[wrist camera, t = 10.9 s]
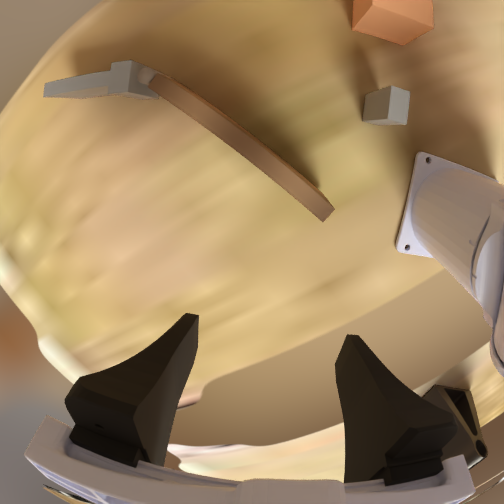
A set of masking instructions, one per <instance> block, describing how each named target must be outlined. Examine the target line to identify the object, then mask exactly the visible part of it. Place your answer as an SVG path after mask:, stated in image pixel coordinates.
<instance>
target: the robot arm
mask: <svg viewBox="0 0 504 504" xmlns="http://www.w3.org/2000/svg"><path fill="white" fill-rule="evenodd" d="M427 157H428V158H429V162H428V163H426V158H427ZM406 245H408V248H407V249H405V246H406ZM395 247H396V249H397V251H398V252H401V253H407V254H413V255H419V256H425V257H431V258H435V259H436V260H437V261H438V262H439V263H440V264H441V265H442V266H443V267H444V268H445V269H446V270H447V271H448V272H449V273H451V275H452V276H453V277H454V278H456V280H458V282H459V283H460V284H461V285H462V286H463V287H464V288H465V289H466V290H467V291H468V292H469V293H470V294H471V295H472V296H473V297H474V299H475V300H476V301H477V302H479V304H480V305H481V306H482V308H483V311H484V315H483V318H484V319H485V320H486V322H487V323H488V324H489V325H490V326H491V328H492V329H493V331H492V335H491V339H490V355H491V358H492V361H493V363H494V366H495V367H496V369H497V370H498V372H499V373H500V374H501V375H502V376H503V377H504V185H503V184H500V183H499V182H498V181H497V180H495V179H493V178H491V177H489V176H486V175H484V174H482V173H479V172H477V171H474V170H472V169H469V168H467V167H464V166H462V165H459V164H457V163H454V162H451V161H448V160H446V159H443V158H440V157H437V156H434V155H431V154H428V153H425V152H418V153H417V154H416V158H415V163H414V169H413V174H412V179H411V184H410V188H409V193H408V197H407V202H406V206H405V210H404V214H403V218H402V222H401V226H400V230H399V233H398V237H397V241H396V244H395ZM198 324H199V315H195V314H189V313H186V314H184V315H183V316H182V317H181V318H180V319H179V320H178V321H177V322H176V323H175V324H174V325H173V326H172V327H171V328H170V329H169V330H168V331H167V332H165V333H164V334H163V335H162V336H161V337H160V338H159V339H157V340H156V341H155V342H153V343H152V344H151V345H150V346H148V347H147V348H145V349H144V350H143V351H141V352H139V353H138V354H136V355H135V356H133V357H131V358H129V359H128V360H126V361H124V362H122V363H120V364H118V365H115V366H113V367H111V368H108V369H105V370H103V371H100V372H97V373H93V374H89V375H86V376H82V377H79V379H78V380H77V381H76V382H75V384H74V385H73V387H72V388H71V390H70V392H69V393H68V395H67V396H66V398H65V405H66V408H67V410H68V412H69V413H70V415H71V417H72V419H73V420H74V422H75V426H74V428H73V429H72V428H70V427H69V426H68V425H66V424H64V423H62V422H60V421H58V420H56V419H54V418H52V417H50V416H48V415H46V417H45V418H44V420H43V422H42V423H41V425H40V427H39V428H38V430H37V432H36V433H35V435H34V437H33V438H32V440H31V442H30V444H29V445H28V447H27V449H26V451H25V453H24V456H25V457H26V458H27V459H28V460H29V461H30V462H31V463H32V464H33V465H34V466H35V467H36V468H37V469H38V470H39V471H40V472H41V473H43V474H44V475H45V476H46V477H47V478H48V479H50V480H52V481H54V482H55V483H57V484H59V485H61V486H63V487H65V488H66V489H68V490H70V491H72V492H74V493H76V494H78V495H80V496H82V497H84V498H86V499H88V500H90V501H92V502H94V503H96V504H458V503H460V502H461V501H463V500H464V499H466V498H468V497H469V496H471V495H472V494H474V493H475V488H474V485H473V482H472V479H471V475H470V472H469V469H468V466H467V463H466V461H465V458H464V455H459V456H455V457H452V458H449V459H446V460H444V461H442V462H441V458H440V457H442V456H443V452H442V448H443V447H444V446H445V445H446V444H447V443H448V442H449V441H450V440H451V439H452V438H453V437H454V436H455V435H456V433H457V431H458V425H457V423H456V420H455V418H454V416H453V414H452V413H450V412H448V411H446V410H443V409H441V408H439V407H437V406H435V405H433V404H432V403H430V402H428V401H426V400H425V399H423V398H422V397H420V396H419V395H417V394H416V393H415V392H413V391H412V390H410V389H409V388H408V387H407V386H405V385H404V384H403V383H402V382H401V381H400V380H398V379H397V378H396V377H395V376H394V375H393V374H392V373H391V372H390V371H389V370H388V369H387V368H386V367H385V365H384V364H383V363H382V362H381V361H380V360H379V359H378V358H377V357H376V355H375V354H374V353H373V352H372V351H371V349H369V347H368V346H367V345H366V343H365V342H364V341H363V340H362V339H361V338H360V337H359V336H358V335H347V336H346V339H345V341H344V343H343V346H342V349H341V351H340V353H339V355H338V358H337V360H336V363H335V373H336V383H337V388H338V393H339V398H340V403H341V408H342V413H343V419H344V428H345V474H344V483H342V482H340V481H338V480H327V479H325V480H285V479H250V480H244V481H243V482H242V481H234V480H226V479H219V478H213V477H207V476H202V475H196V474H192V473H187V472H182V471H178V470H174V469H169V468H165V467H164V462H165V456H166V451H167V447H168V442H169V437H170V433H171V429H172V425H173V421H174V417H175V413H176V409H177V406H178V403H179V400H180V397H181V394H182V392H183V389H184V387H185V384H186V382H187V379H188V377H189V374H190V372H191V369H192V367H193V364H194V360H195V356H196V352H197V348H198Z"/></svg>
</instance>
